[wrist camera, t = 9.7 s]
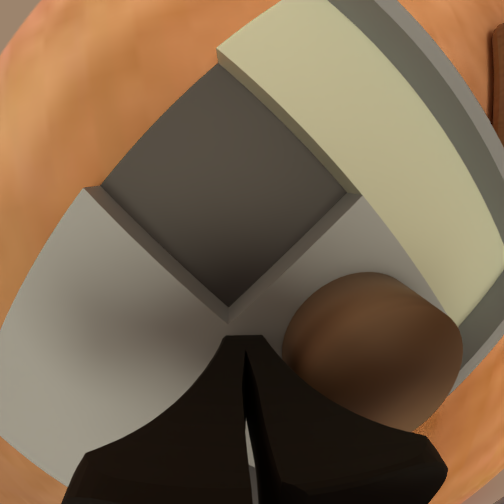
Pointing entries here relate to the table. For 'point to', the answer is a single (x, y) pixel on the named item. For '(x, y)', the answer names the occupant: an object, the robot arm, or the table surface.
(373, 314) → the puck
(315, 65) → the trap board
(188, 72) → the table surface
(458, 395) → the table surface
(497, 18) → the table surface
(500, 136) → the wooden block
